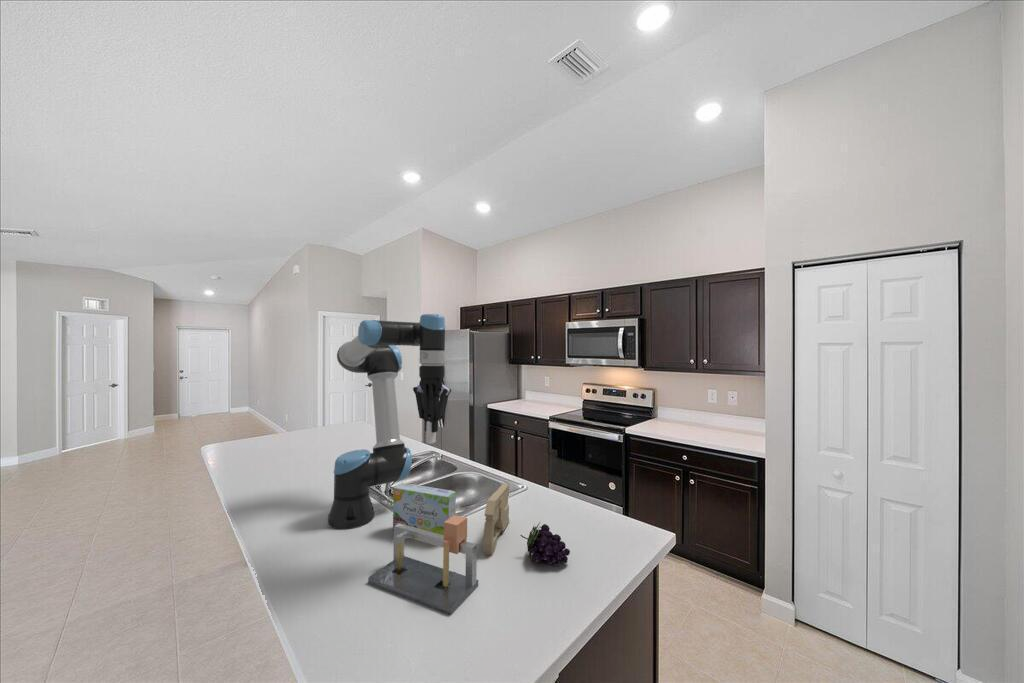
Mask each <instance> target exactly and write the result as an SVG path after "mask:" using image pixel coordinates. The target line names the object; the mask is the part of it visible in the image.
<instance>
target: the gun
mask: <svg viewBox="0 0 1024 683" xmlns="http://www.w3.org/2000/svg"><path fill="white" fill-rule="evenodd" d="M509 497H510V483H509V484H508V483H501V485H500V486H499V487H498V488H497V489H496V491H494V492H493V493H492V494H491V495H490V497H489V498H487V501H486V506H485V510H484V513H483V514H484V517H485V519H484V520H485V521H484V529H483V530H484V531H483V539H482V545H483V546H482V547H483V555H484V556H485V555H486V556H493V555H494V552H495V549H496V547H497V542H498V541H497V539H498V537H499V535H500V534H501V533H503V532H504V531H505V529H506V527H507V526H508V524H509V522H510V516H509V514H510V512H509V511H510V505H509Z"/></svg>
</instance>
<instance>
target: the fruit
mask: <svg viewBox="0 0 1024 683" xmlns="http://www.w3.org/2000/svg"><path fill="white" fill-rule="evenodd" d="M535 524H536V523H534V525H533V526H532V530H530V531H529V535H528V537H525V536H523V535H522V534H520V537H522V538H523V539H526V540H527V543H526V549H527V553H528V558H529V560H533V562H534V563H541V561H542V560H545V561H546V563H547V564H549V565H552V564H554V566H559V565H560V564H563V565H564V564H567V563H568V556H569V555H570V554H571V553H570V552H571V550H570V549H569V548H567V546H566V543H565V541H561V540H562V538H561V535H559V534H557V533H555V534H553V532H552V531H550V527H549V525H548V524H546V523H544V524H542V525H541V526H540V524H541V521H539V523H538V524H537V525H535Z"/></svg>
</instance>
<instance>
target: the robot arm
mask: <svg viewBox="0 0 1024 683" xmlns="http://www.w3.org/2000/svg"><path fill="white" fill-rule="evenodd" d="M419 319H420V320H419V322H411V321H409V322H408V321H392V320H391V321H390V320H379V319H378V320H376V319H370V320H367V319H366V320H361V322H360V323H359V326H358V331H357V336H356V337H354V338H353V339H352V340H351V341H347V342H345V343H343V344H342V345H341V346H340V347H339V348H338V350H337V353H336V358H337V362H338V363H339V365H340V366H341V368H343V369H345V370H346V371H348V372H351V373H357V374H364V373H365V374H366V375H367V376H366V377H367V379H368V380H369V381H371V385H372V386H371V388H372V398H373V400H372V401H373V412H374V413H373V414H374V424H375V425H374V426H375V439H376V442H375V444H374V446H373V447H372V452H370V450H368V449H356V450H351V451H350V450H349V451H346V452H344V453H342V454H341V455H339V456H338V457H337V458H336V459H335V462H334V469H333V474H334V475H333V476H334V477H333V487H334V488H333V501H332V505H331V509H330V512H329V513H328V516H327V525H328V526H329V527H330V528H334V529H338V530H339V529H340V530H347V529H355V528H358V527H361V526H364V525H366V524H368V523H370V522H372V520H373V519H374V518H375V508H374V506H373V503H372V499H371V497H370V488H371V487H375V486H381V485H384V484H385V485H386V484H389V483H396V482H398V481H402V480H405V479H406V478H407V477H408V476H409V474H410V472H411V470H412V463H413V461H412V460H413V459H412V458H413V457H412V453H411V449H410V448H409V447H406V445H405V442H404V441H403V440H401V439H400V438H401V437H400V427H399V415H398V414H399V413H398V404H397V394H396V383H395V382H396V381H395V379H396V377H398V375H399V372H400V371H401V370H402V367H403V365H402V364H403V358H402V357H403V356H402V353H401V350H400V349H399V347H398V346H408V347H409V346H411V347H419V364H421V365H420V366H419V368H418V370H419V374H418V375H419V378H420V380H419V384H418V385H417V386H414V387H412V391H413V393H414V396H415V399H416V405H417V406H416V407H417V411H418V418H419V419H422V420H423V421H424V431H425V432H426V440H425V442H426V443H425V444H429V445H430V444H431V445H432V444H434V443H436V442H437V433H438V431H439V421H440V420H444V417H445V414H446V409H447V404H448V399H449V396H450V394H451V393H452V389H451V388H448V387H447V386H446V385H445V381H444V378H445V365H444V364H445V363H446V362H445V361H446V360H445V359H446V356H445V354H446V353H445V352H446V351H445V350H446V348H445V347H446V344H445V343H446V321H445V316H444V315H442V314H439V313H438V314H436V313H426V314H425V313H424V314H421V315H420V317H419Z"/></svg>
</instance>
